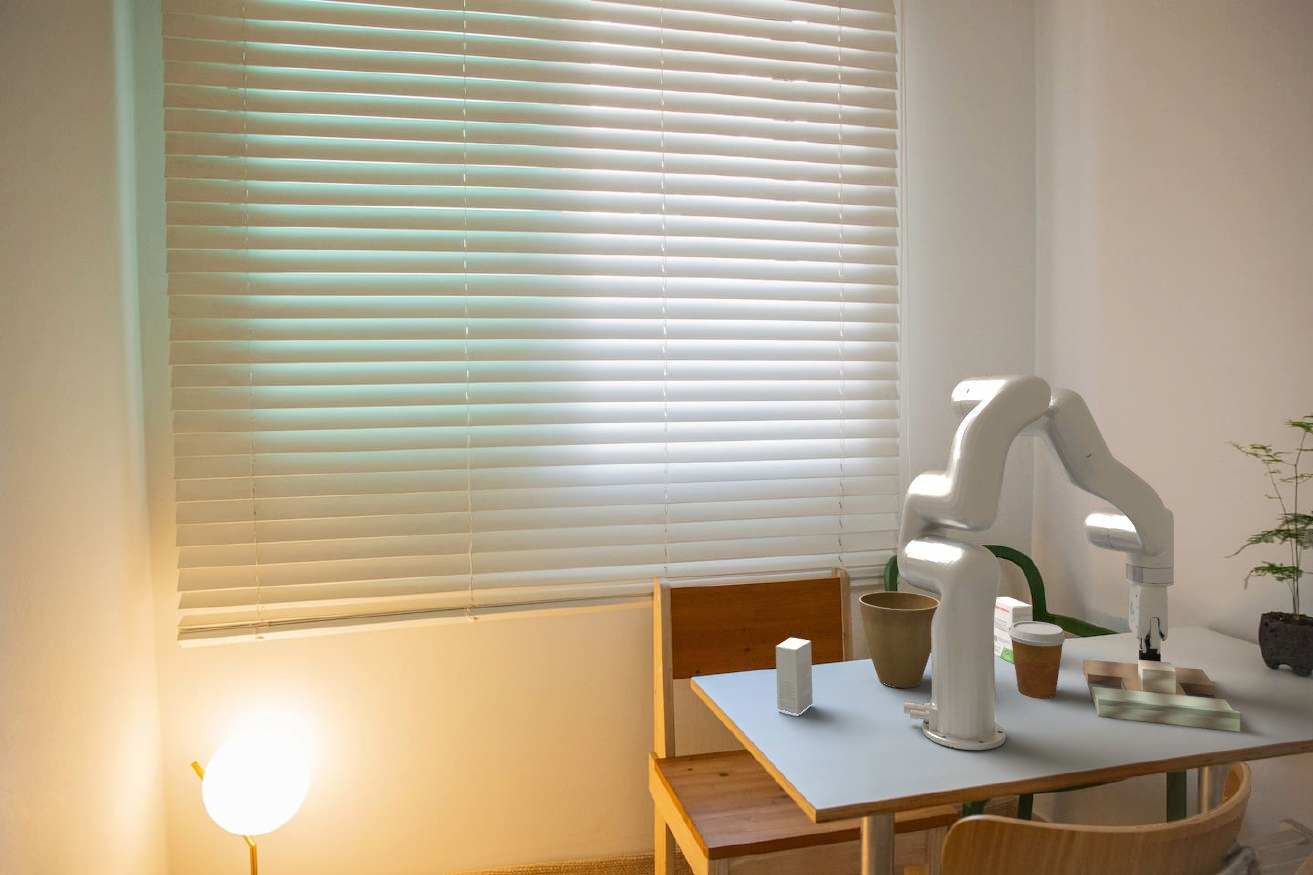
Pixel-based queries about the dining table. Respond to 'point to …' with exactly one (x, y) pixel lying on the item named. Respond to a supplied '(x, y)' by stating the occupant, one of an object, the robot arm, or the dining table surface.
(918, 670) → the plant pot
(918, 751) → the dining table surface
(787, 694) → the skincare box
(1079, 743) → the dining table surface
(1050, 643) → the disposable coffee cup
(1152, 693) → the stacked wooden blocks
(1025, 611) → the ink box
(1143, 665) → the block
